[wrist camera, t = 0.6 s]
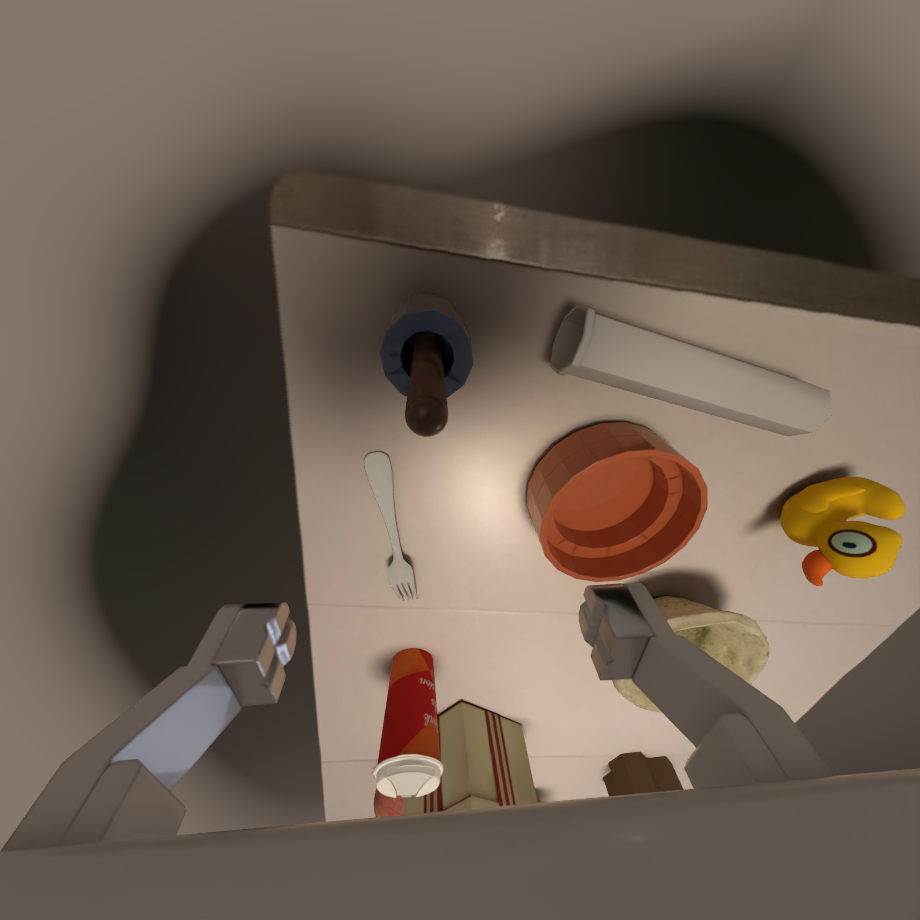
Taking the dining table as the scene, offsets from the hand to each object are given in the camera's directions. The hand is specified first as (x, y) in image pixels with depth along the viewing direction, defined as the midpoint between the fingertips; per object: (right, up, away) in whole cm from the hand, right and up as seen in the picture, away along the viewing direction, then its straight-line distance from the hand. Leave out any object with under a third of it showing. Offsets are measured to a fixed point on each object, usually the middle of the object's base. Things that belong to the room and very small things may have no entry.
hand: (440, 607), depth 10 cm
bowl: (+28, -17, +41) cm, 52 cm away
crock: (-2, +14, +20) cm, 24 cm away
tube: (+20, +12, +23) cm, 33 cm away
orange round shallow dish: (+15, +1, +29) cm, 32 cm away
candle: (+36, -58, +66) cm, 95 cm away
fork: (-7, -4, +30) cm, 31 cm away
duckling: (+39, 0, +32) cm, 50 cm away
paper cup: (-6, -24, +42) cm, 49 cm away
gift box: (+3, -42, +54) cm, 68 cm away
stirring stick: (-2, +14, +19) cm, 24 cm away
